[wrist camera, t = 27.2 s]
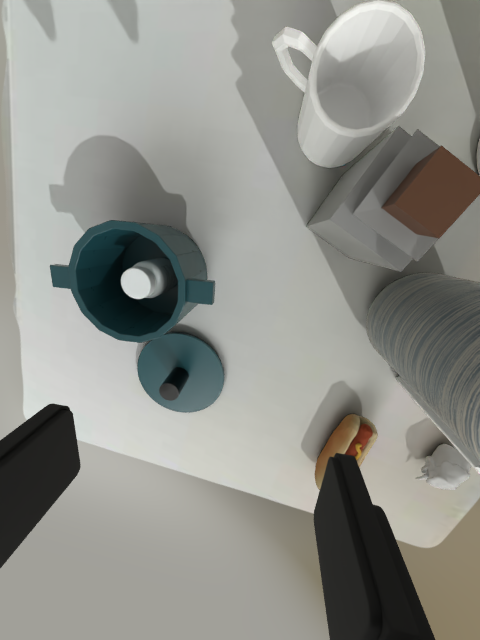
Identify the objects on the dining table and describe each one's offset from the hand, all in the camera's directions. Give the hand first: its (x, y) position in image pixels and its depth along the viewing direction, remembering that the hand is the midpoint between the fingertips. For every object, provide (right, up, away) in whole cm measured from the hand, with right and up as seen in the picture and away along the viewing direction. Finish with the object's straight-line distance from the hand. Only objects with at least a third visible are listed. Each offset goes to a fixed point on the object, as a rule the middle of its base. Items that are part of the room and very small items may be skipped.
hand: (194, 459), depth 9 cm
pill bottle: (-9, +11, +26) cm, 30 cm away
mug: (+10, +27, +19) cm, 35 cm away
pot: (-9, +11, +26) cm, 30 cm away
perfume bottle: (+14, +17, +22) cm, 31 cm away
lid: (-8, -3, +30) cm, 31 cm away
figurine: (+31, -16, +31) cm, 47 cm away
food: (+18, -15, +32) cm, 39 cm away
